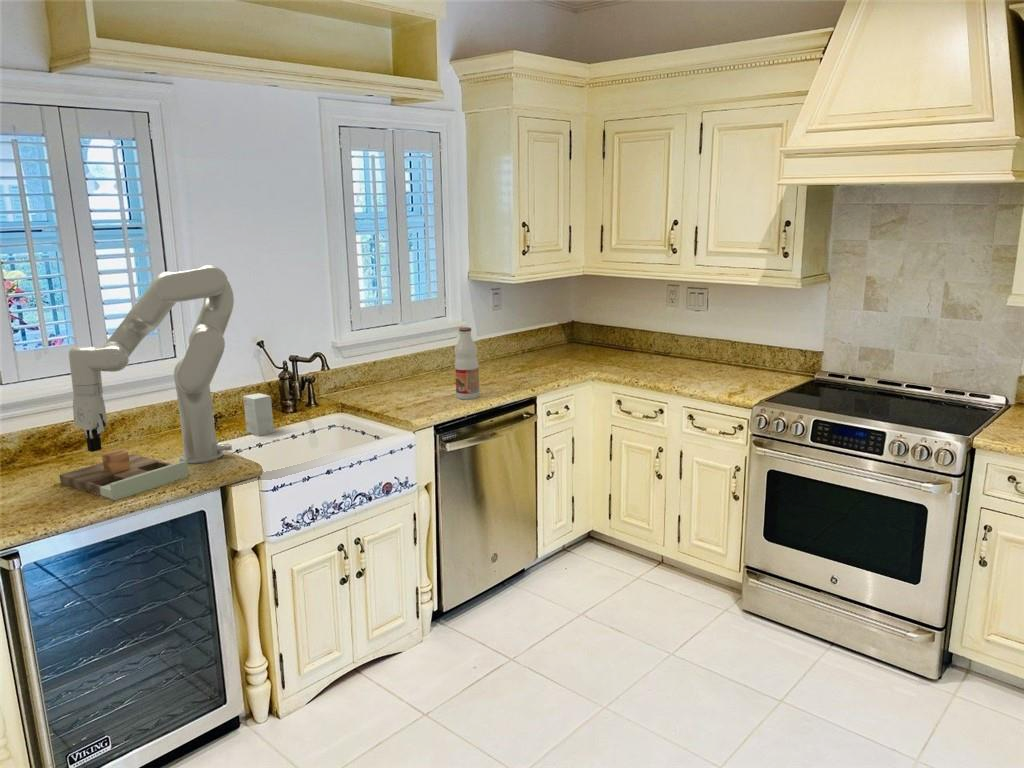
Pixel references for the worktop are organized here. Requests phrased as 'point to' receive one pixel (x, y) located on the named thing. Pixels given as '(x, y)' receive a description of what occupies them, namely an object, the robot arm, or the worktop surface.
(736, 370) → the worktop surface
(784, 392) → the worktop surface
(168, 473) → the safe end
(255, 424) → the small box
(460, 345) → the fruit juice
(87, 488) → the track
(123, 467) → the block
